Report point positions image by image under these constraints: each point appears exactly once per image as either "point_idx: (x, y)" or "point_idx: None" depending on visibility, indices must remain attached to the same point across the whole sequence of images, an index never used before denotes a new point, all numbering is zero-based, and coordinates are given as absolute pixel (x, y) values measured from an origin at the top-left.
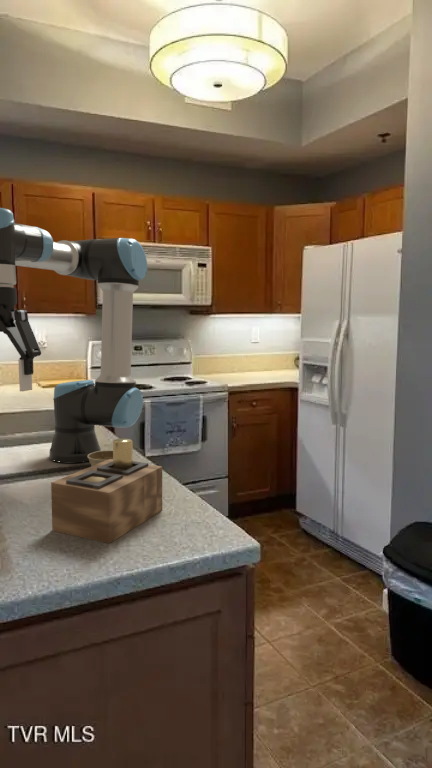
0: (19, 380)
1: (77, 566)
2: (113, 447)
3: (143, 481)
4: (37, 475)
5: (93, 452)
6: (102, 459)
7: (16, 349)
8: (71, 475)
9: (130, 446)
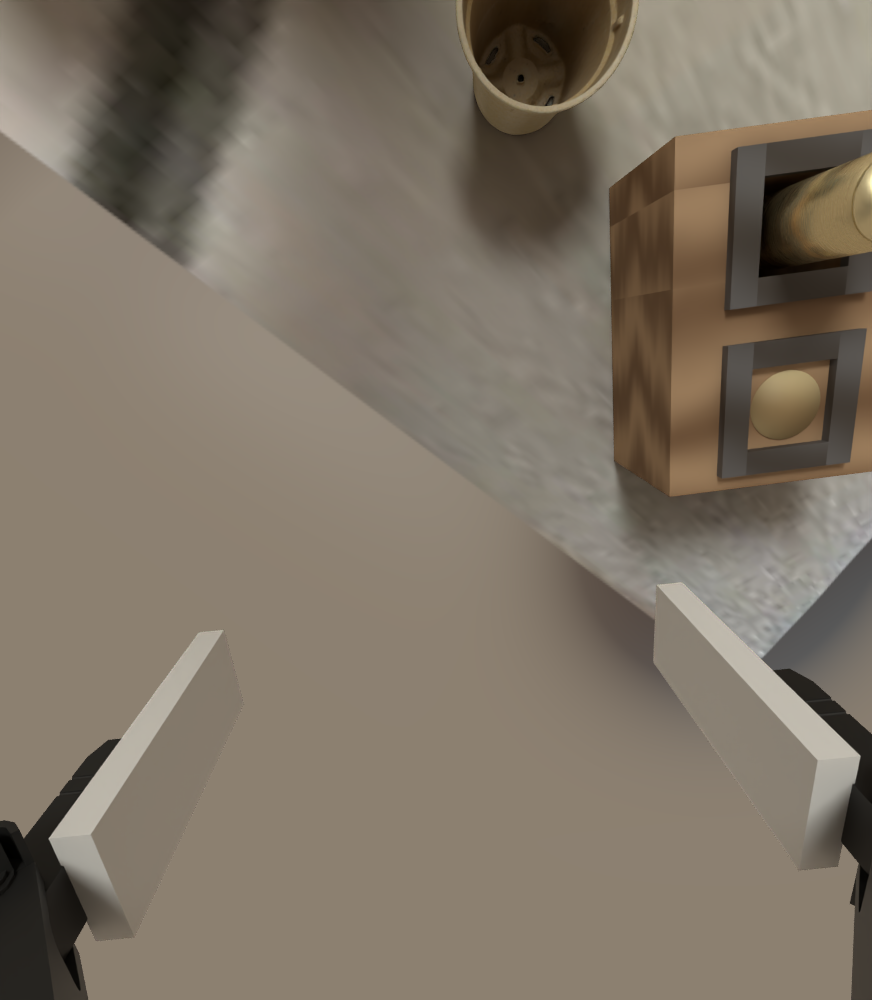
0: (691, 712)
1: (779, 552)
2: (841, 245)
3: None
4: (177, 120)
5: (458, 1)
6: None
7: (855, 997)
8: (678, 407)
9: None
